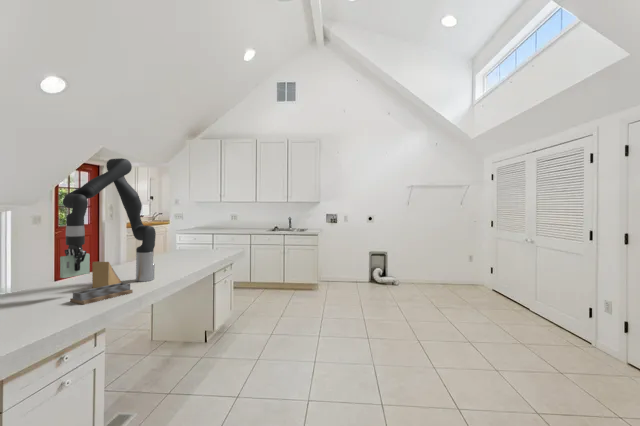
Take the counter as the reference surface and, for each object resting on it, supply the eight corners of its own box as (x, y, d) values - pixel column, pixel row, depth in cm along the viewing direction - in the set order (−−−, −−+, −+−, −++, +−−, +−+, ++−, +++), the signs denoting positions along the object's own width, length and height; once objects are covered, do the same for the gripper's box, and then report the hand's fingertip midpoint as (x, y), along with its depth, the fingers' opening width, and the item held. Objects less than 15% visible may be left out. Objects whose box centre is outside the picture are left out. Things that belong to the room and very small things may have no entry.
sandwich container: (123, 283, 194) (123, 257, 194) (108, 289, 179) (109, 261, 179) (107, 283, 194) (108, 257, 193) (91, 289, 178) (92, 261, 178)
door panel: (86, 273, 169) (86, 253, 168) (89, 273, 168) (89, 253, 167) (60, 277, 158) (60, 256, 157) (63, 278, 157) (63, 257, 156)
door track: (119, 290, 176) (119, 282, 176) (132, 292, 172) (132, 284, 172) (70, 301, 154) (70, 292, 154) (84, 304, 150) (84, 294, 150)
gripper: (92, 235, 163) (92, 270, 163) (74, 233, 168) (74, 267, 169) (76, 236, 156) (76, 273, 156) (58, 234, 162) (58, 270, 162)
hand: (75, 270), depth 163 cm, fingers closed on door panel, 2 cm apart
